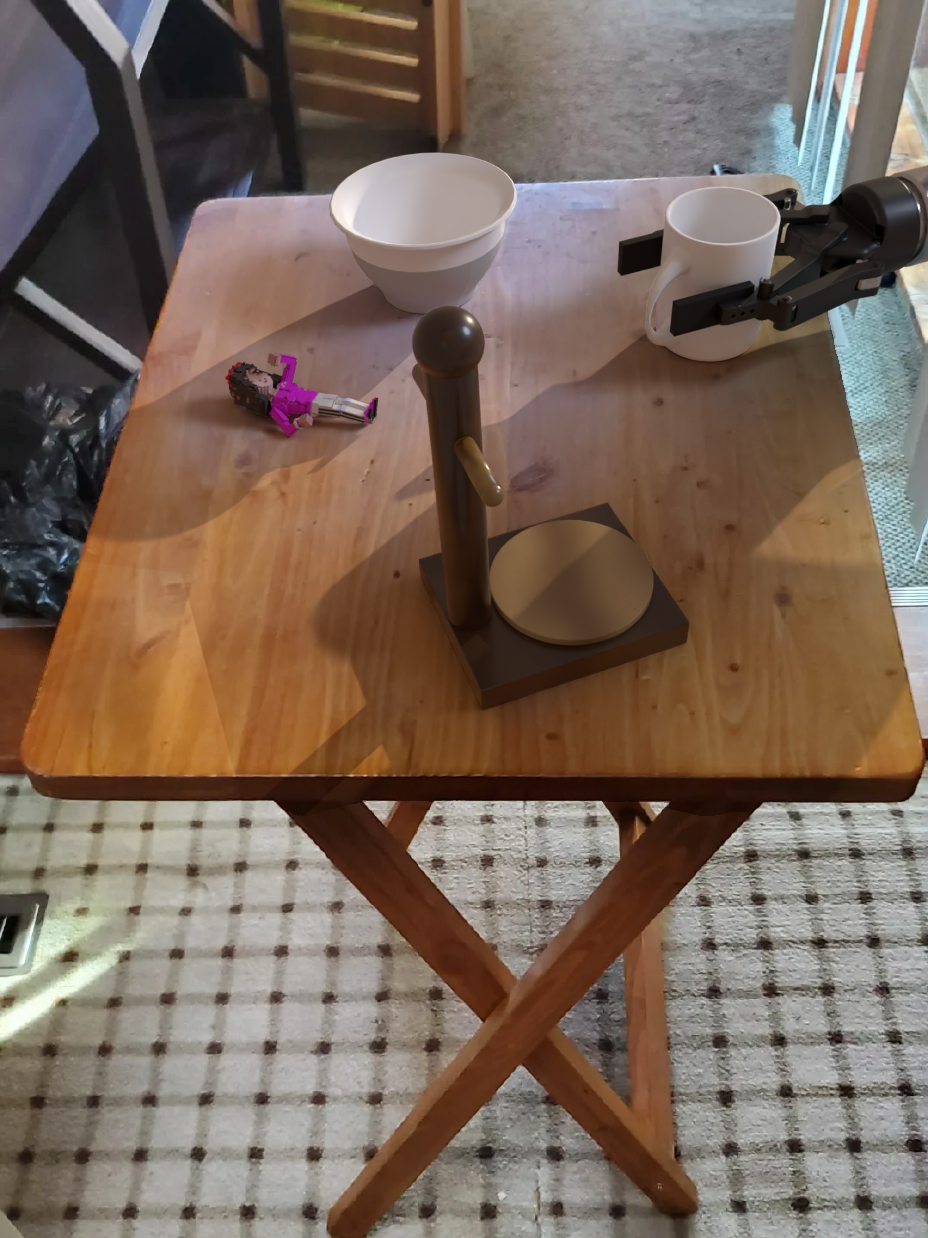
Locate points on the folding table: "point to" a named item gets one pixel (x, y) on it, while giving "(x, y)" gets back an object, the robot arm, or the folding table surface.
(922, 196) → the robot arm
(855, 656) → the folding table surface
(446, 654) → the folding table surface
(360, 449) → the folding table surface
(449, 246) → the bowl
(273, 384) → the character figurine
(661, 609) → the mug stand
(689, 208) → the mug
